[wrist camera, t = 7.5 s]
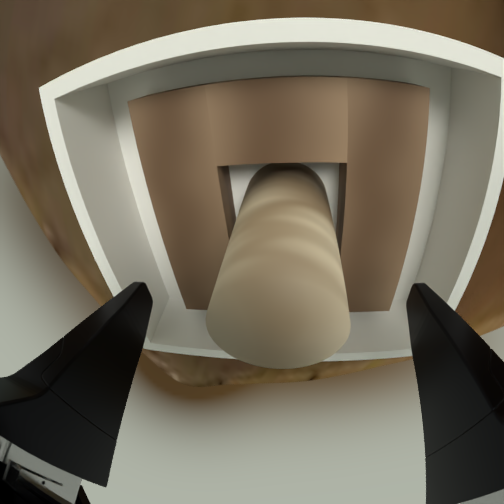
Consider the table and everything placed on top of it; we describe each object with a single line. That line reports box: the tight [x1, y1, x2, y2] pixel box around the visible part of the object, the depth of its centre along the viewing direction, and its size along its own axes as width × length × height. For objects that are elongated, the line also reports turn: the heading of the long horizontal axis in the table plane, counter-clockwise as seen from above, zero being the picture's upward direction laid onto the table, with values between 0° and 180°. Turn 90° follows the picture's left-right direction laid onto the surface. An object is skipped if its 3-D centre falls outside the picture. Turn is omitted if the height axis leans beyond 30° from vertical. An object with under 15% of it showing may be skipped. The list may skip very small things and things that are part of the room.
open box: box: [39, 18, 504, 361], centre depth 13 cm, size 18×16×5 cm
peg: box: [206, 163, 351, 369], centre depth 11 cm, size 4×4×8 cm
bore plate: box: [127, 75, 430, 312], centre depth 13 cm, size 12×12×2 cm
